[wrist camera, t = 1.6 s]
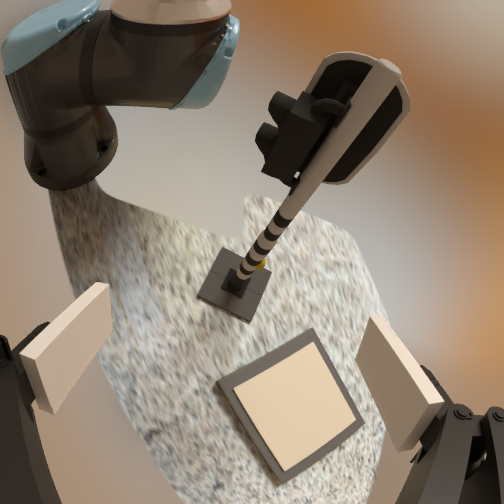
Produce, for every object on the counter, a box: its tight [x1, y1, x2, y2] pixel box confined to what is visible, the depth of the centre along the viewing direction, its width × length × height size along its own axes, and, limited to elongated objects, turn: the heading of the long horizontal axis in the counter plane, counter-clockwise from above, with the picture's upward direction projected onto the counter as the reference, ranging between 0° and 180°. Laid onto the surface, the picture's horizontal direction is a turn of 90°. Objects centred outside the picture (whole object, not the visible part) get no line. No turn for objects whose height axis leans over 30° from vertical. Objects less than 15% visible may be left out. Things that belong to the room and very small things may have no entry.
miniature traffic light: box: [197, 51, 410, 322], centre depth 23 cm, size 8×8×30 cm
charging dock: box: [217, 328, 365, 484], centre depth 31 cm, size 15×13×2 cm
